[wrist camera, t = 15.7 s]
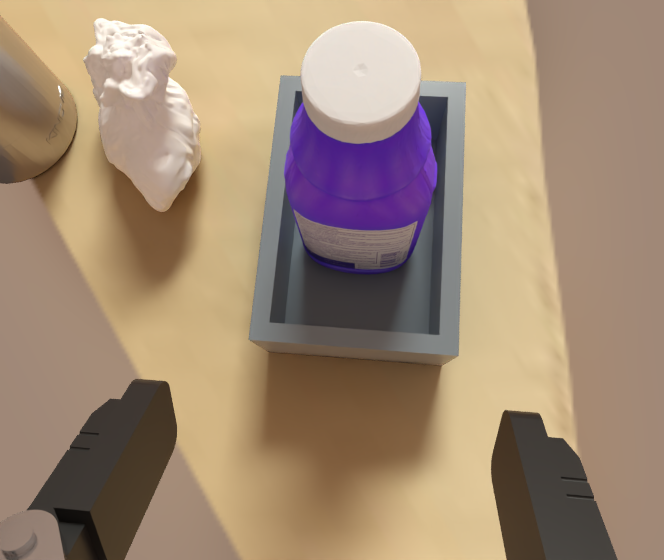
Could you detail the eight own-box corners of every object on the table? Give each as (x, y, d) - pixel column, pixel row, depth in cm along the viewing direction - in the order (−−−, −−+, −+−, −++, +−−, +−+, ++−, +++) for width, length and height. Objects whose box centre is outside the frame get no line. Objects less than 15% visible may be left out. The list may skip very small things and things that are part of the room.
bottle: (419, 200, 35) (472, 0, 18) (413, 284, 33) (463, 154, 17) (310, 191, 35) (260, -9, 18) (299, 274, 34) (236, 138, 17)
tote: (268, 351, 34) (248, 339, 28) (293, 127, 38) (280, 75, 32) (441, 365, 33) (458, 356, 27) (449, 134, 37) (465, 82, 31)
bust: (208, 226, 39) (272, 121, 30) (102, 243, 34) (145, 123, 26) (148, 99, 42) (192, -30, 33) (43, 97, 37) (64, -53, 28)
